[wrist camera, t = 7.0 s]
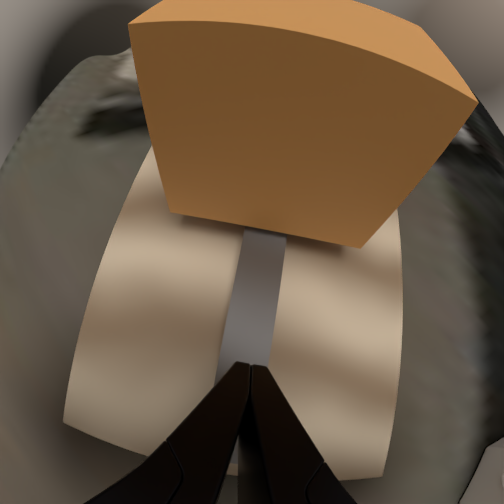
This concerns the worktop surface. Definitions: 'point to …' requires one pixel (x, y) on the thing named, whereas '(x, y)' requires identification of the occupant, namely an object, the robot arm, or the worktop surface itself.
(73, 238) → the worktop surface
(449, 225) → the worktop surface
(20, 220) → the worktop surface
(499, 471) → the jar
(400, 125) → the orange-brown rectangular block
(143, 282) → the stand
